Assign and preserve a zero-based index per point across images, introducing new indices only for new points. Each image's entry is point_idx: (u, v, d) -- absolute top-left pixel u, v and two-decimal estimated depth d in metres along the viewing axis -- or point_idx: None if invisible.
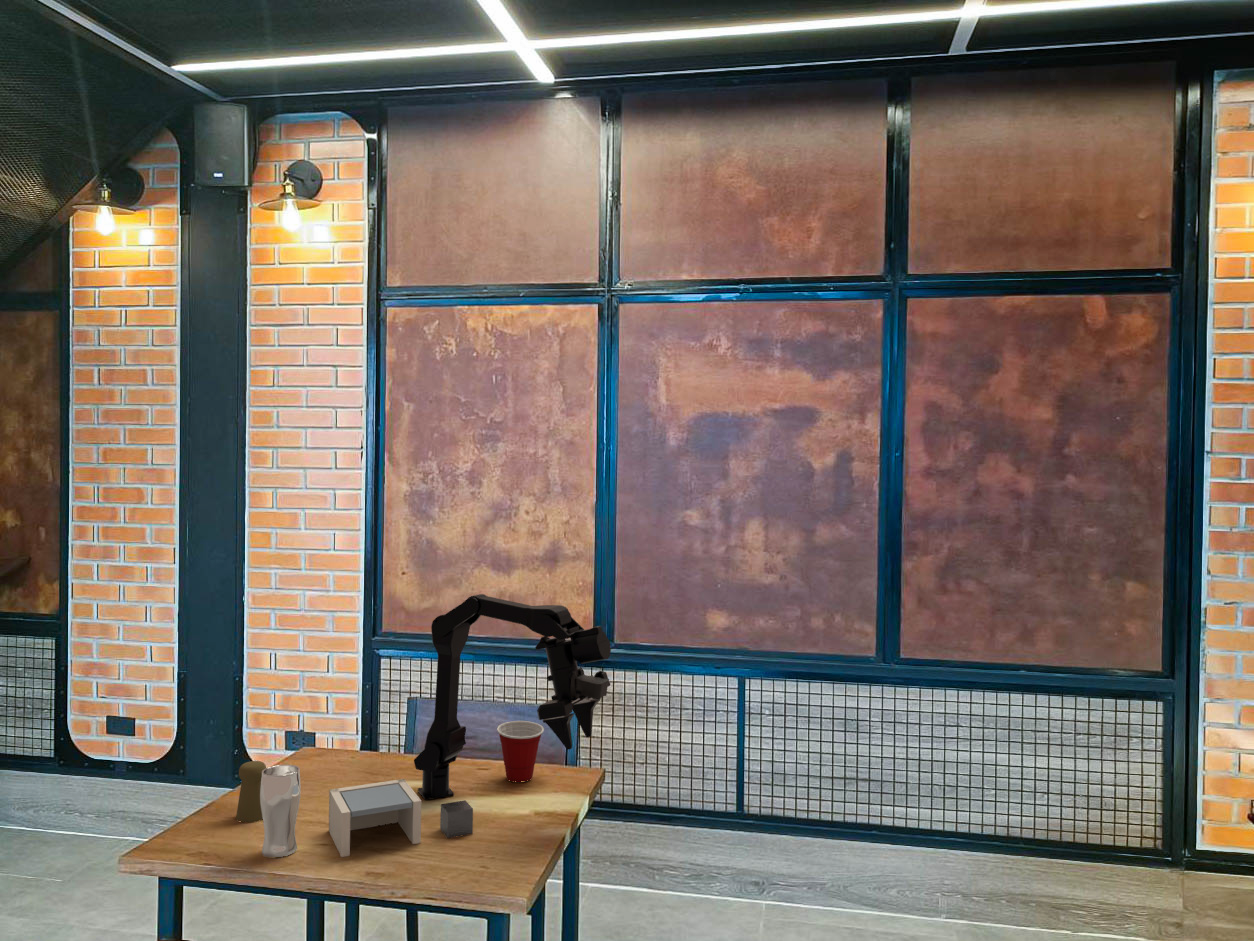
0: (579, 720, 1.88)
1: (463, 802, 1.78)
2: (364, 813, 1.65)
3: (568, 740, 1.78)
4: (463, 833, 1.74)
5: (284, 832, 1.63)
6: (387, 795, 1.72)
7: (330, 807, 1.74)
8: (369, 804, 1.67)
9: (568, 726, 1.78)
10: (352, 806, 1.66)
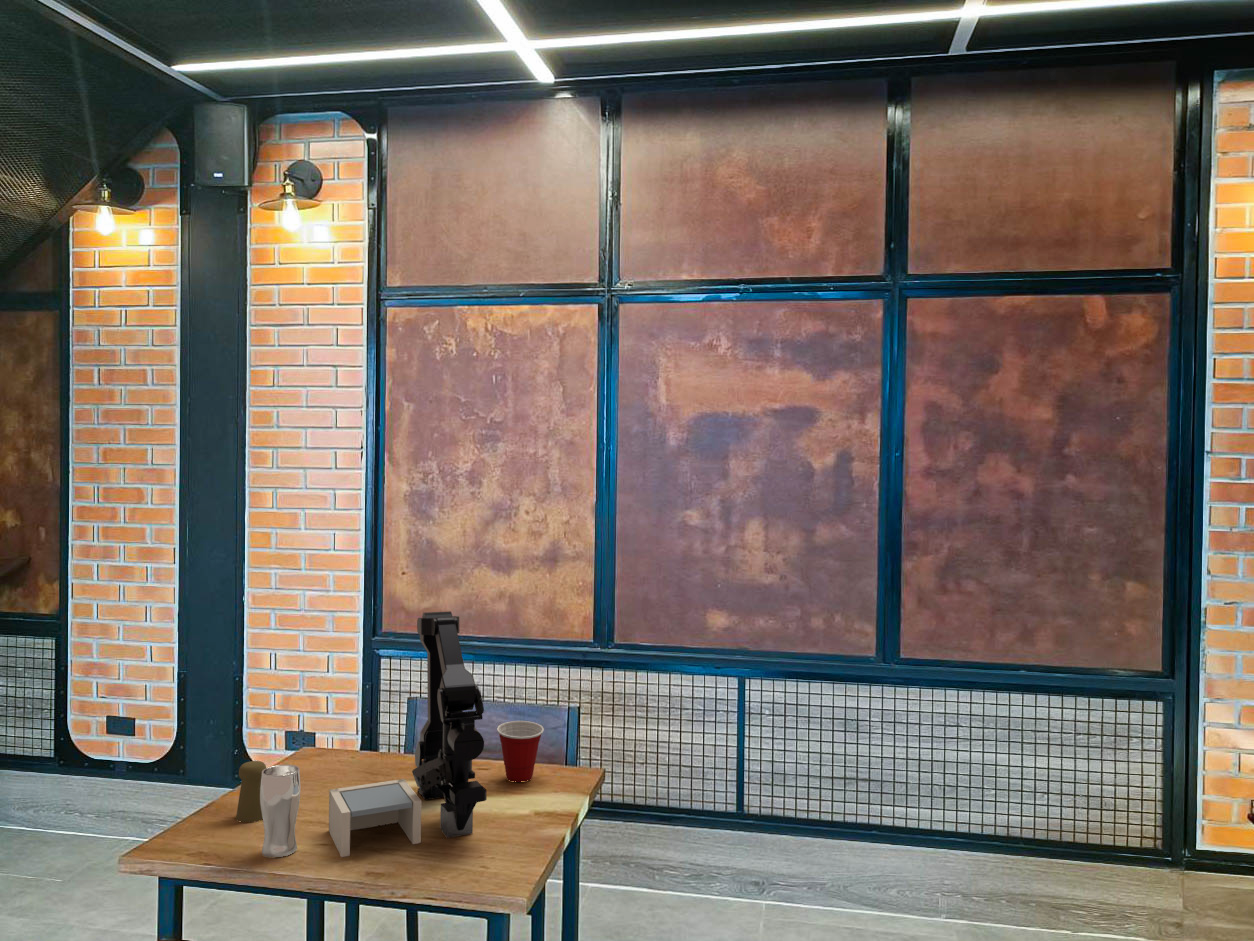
0: None
1: None
2: (364, 813, 1.65)
3: None
4: (463, 832, 1.74)
5: (284, 832, 1.63)
6: (387, 795, 1.72)
7: (330, 807, 1.74)
8: (369, 804, 1.67)
9: (444, 796, 1.78)
10: (352, 806, 1.66)
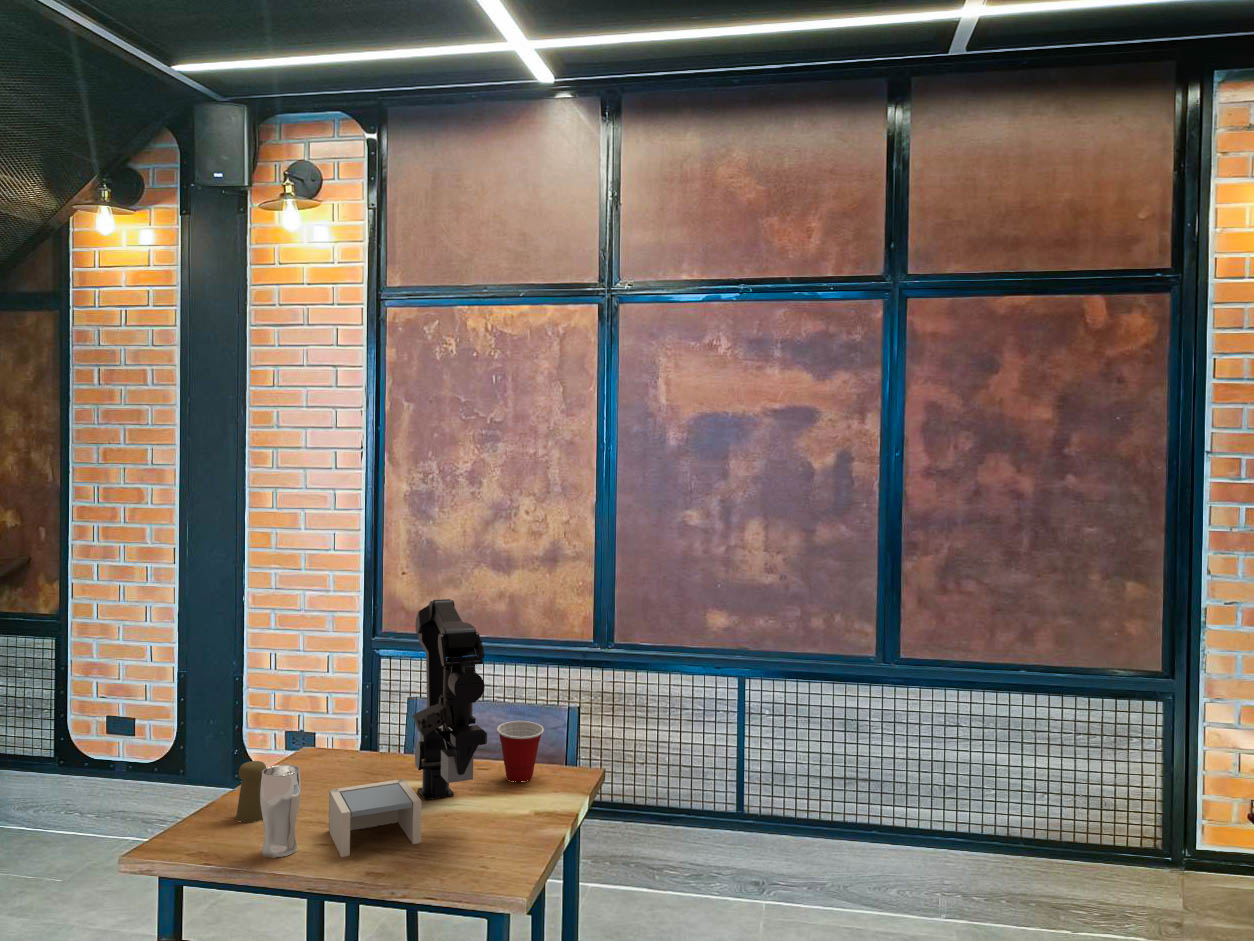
0: None
1: None
2: (364, 813, 1.65)
3: None
4: (463, 778, 1.74)
5: (284, 832, 1.63)
6: (387, 795, 1.72)
7: (330, 807, 1.74)
8: (369, 804, 1.67)
9: (444, 742, 1.78)
10: (352, 806, 1.66)
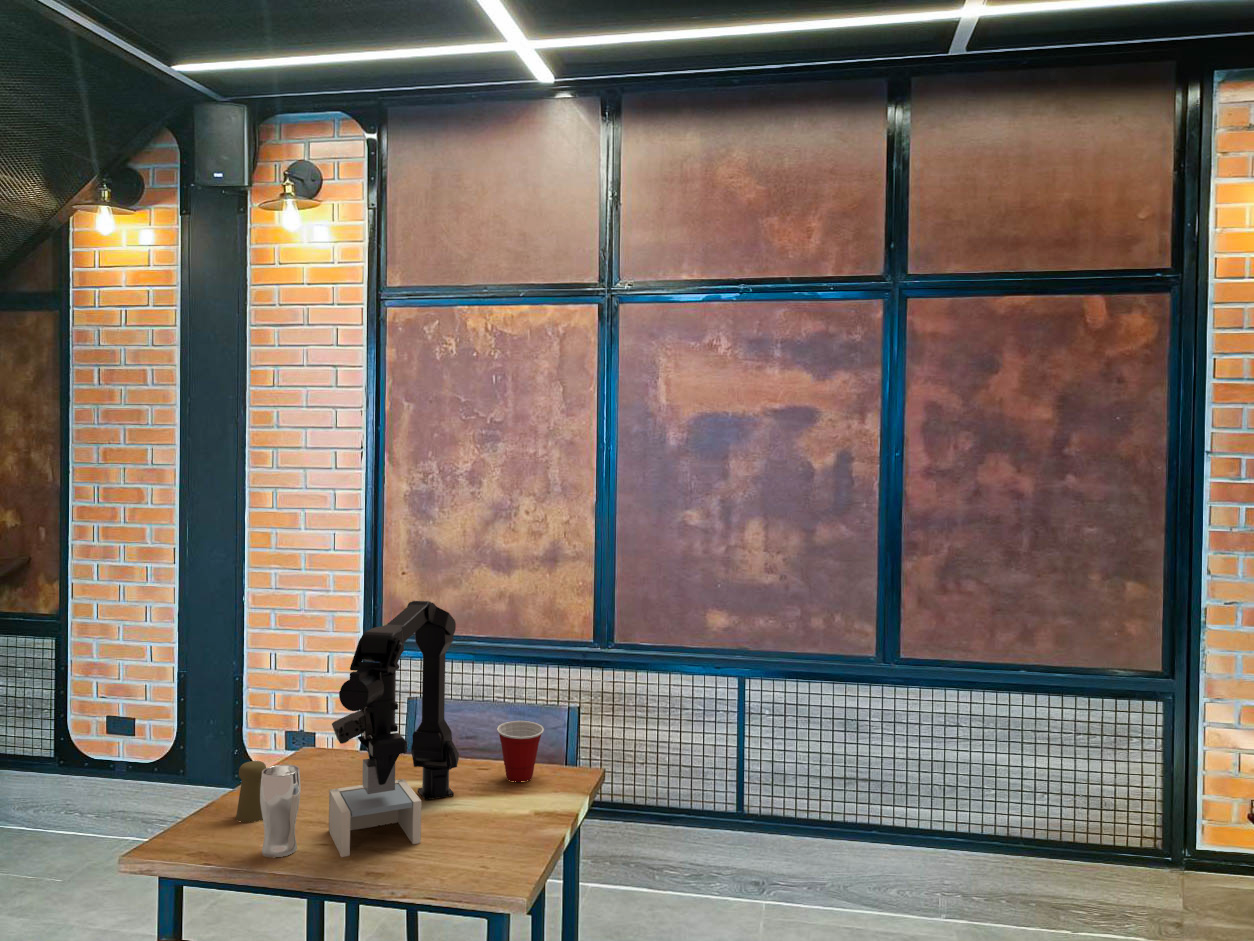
0: None
1: None
2: (364, 813, 1.65)
3: None
4: (385, 789, 1.68)
5: (284, 832, 1.63)
6: (387, 795, 1.72)
7: (330, 807, 1.74)
8: (369, 804, 1.67)
9: None
10: (352, 806, 1.66)
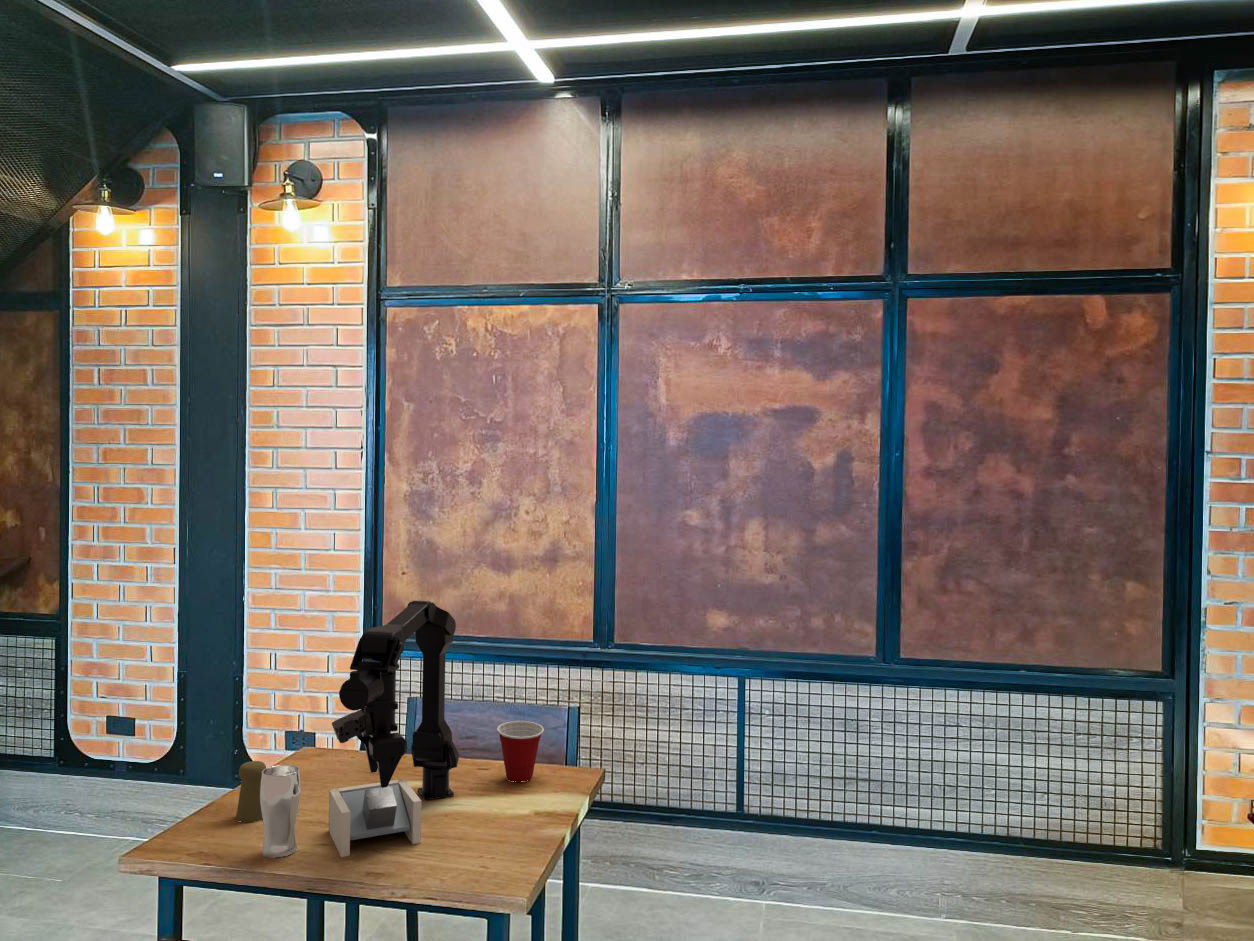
0: None
1: (389, 790, 1.70)
2: (362, 837, 1.66)
3: None
4: (384, 825, 1.68)
5: (284, 832, 1.63)
6: None
7: (330, 807, 1.74)
8: None
9: (365, 747, 1.74)
10: (351, 825, 1.67)
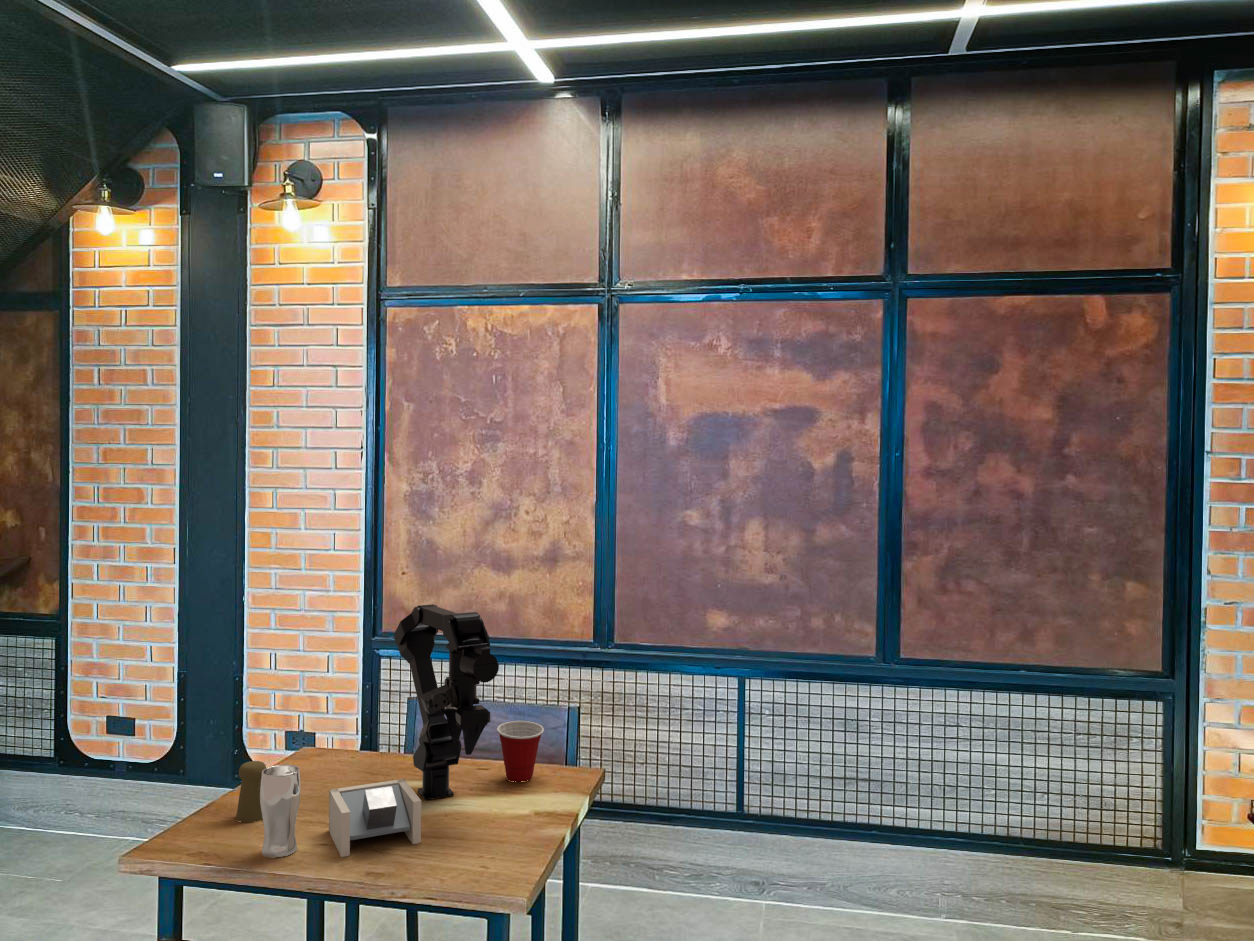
0: None
1: (389, 790, 1.70)
2: (362, 837, 1.66)
3: None
4: (384, 825, 1.68)
5: (284, 832, 1.63)
6: None
7: (330, 807, 1.74)
8: None
9: (447, 720, 1.91)
10: (351, 825, 1.67)
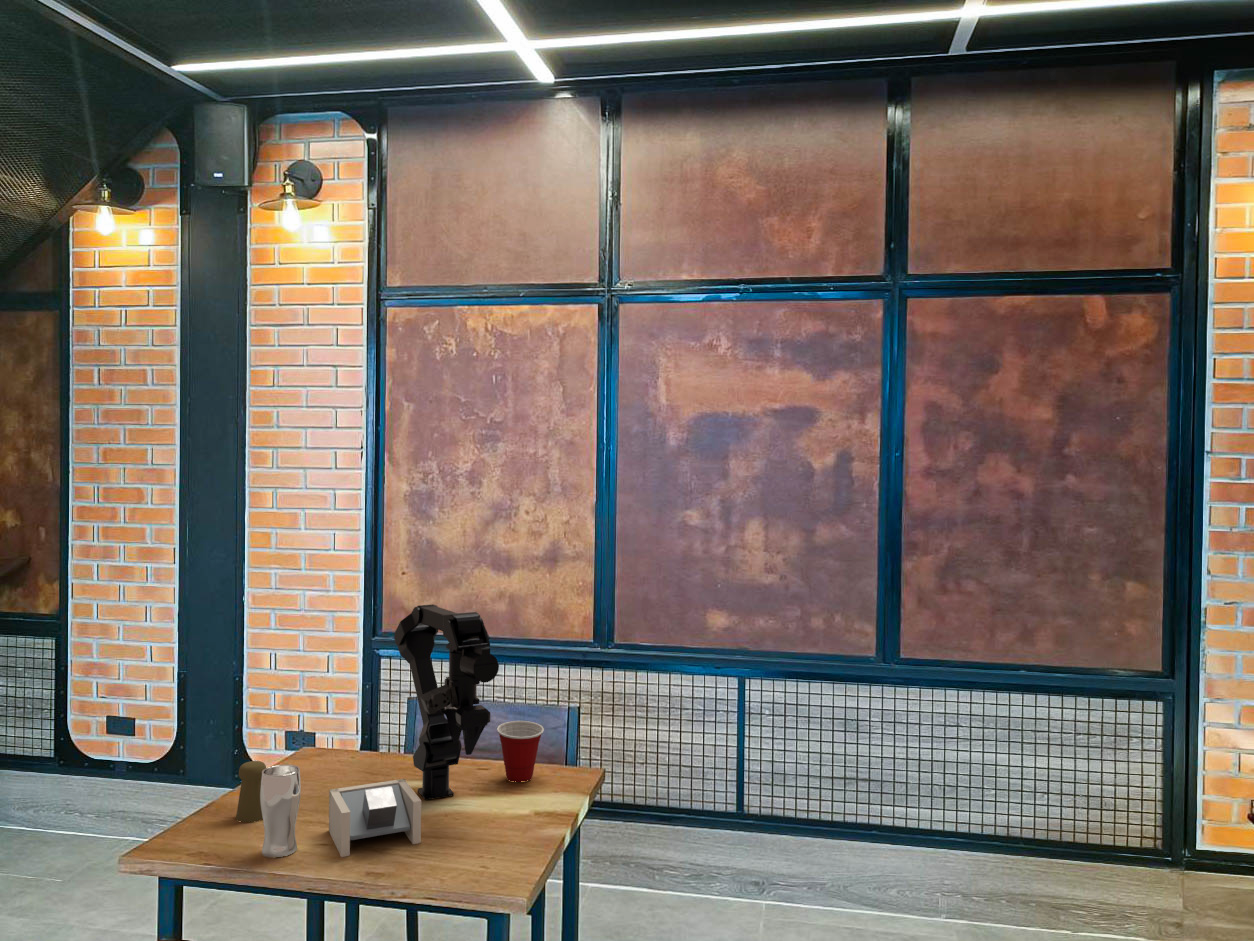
0: None
1: (389, 790, 1.70)
2: (362, 837, 1.66)
3: None
4: (384, 825, 1.68)
5: (284, 832, 1.63)
6: None
7: (330, 807, 1.74)
8: None
9: (447, 720, 1.91)
10: (351, 825, 1.67)
